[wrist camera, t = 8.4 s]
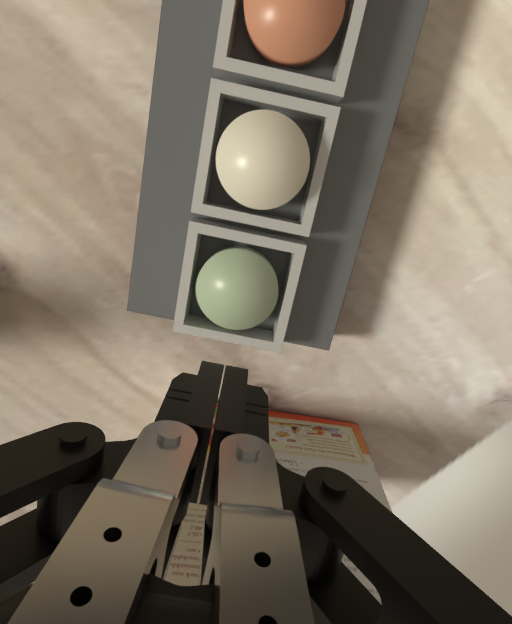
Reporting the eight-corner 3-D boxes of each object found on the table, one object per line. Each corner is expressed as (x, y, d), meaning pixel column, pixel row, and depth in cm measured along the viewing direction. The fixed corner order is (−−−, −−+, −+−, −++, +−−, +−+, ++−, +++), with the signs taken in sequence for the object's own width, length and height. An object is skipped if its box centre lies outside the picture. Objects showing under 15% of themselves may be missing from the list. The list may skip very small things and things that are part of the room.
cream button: (227, 104, 23) (224, 99, 21) (316, 124, 23) (320, 121, 21) (211, 197, 24) (208, 199, 23) (295, 215, 24) (297, 218, 23)
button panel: (183, -61, 24) (163, -119, 19) (416, -4, 25) (453, -46, 20) (139, 297, 31) (117, 320, 26) (322, 334, 32) (333, 363, 27)
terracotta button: (255, -55, 21) (254, -72, 20) (351, -32, 21) (357, -47, 20) (236, 56, 22) (235, 48, 21) (326, 77, 23) (330, 70, 21)
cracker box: (181, 456, 35) (77, 820, 15) (190, 394, 33) (84, 718, 13) (342, 481, 36) (442, 863, 16) (360, 421, 34) (498, 771, 14)
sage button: (206, 238, 26) (202, 242, 24) (285, 254, 26) (286, 259, 24) (193, 313, 27) (189, 321, 26) (268, 328, 27) (268, 336, 26)
